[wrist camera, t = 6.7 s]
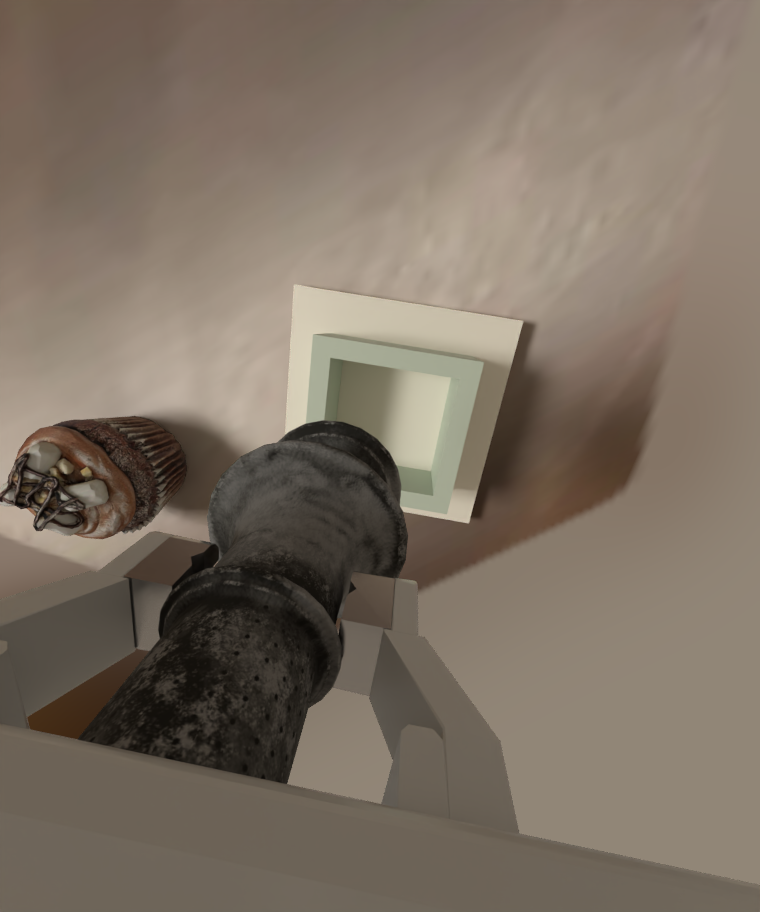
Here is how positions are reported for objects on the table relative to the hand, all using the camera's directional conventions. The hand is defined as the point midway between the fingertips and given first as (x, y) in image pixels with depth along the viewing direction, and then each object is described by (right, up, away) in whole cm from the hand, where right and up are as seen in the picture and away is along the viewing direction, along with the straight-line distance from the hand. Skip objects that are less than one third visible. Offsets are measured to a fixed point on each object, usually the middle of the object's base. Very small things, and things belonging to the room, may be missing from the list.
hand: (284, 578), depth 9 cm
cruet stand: (+3, +7, +20) cm, 21 cm away
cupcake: (-19, +3, +24) cm, 31 cm away
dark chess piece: (+1, +2, +5) cm, 6 cm away
